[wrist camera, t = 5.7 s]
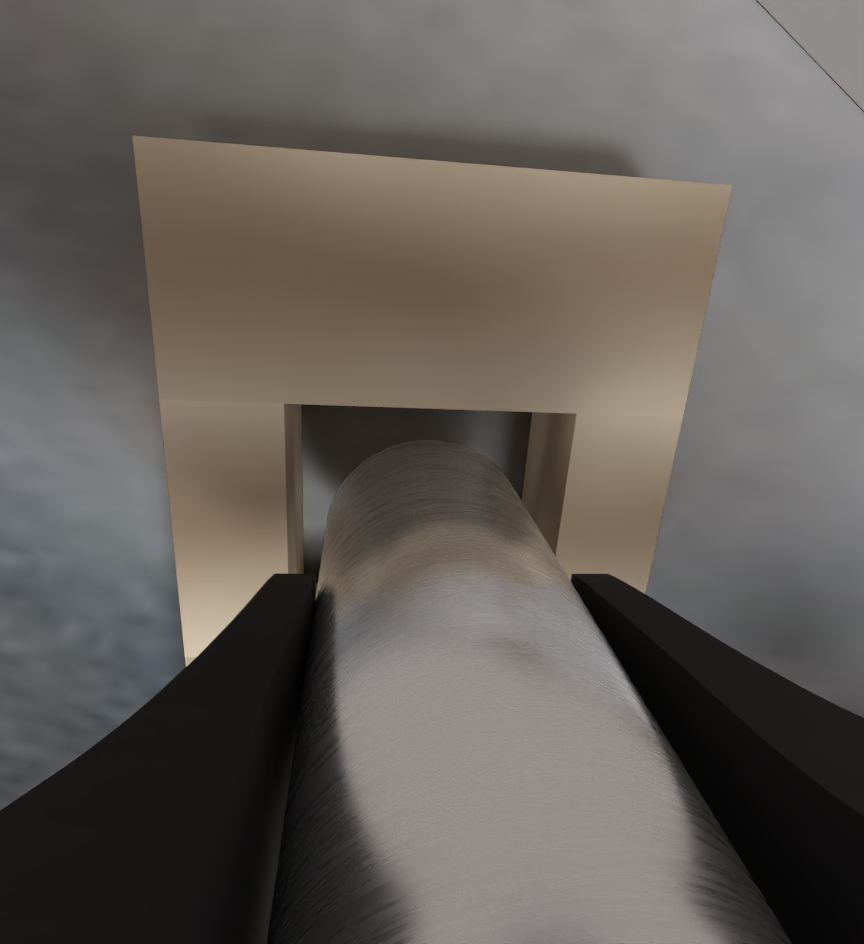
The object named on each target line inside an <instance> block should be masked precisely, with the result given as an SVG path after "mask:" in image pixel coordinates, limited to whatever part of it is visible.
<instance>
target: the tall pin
mask: <svg viewBox="0 0 864 944" xmlns="http://www.w3.org/2000/svg"><path fill="white" fill-rule="evenodd" d="M266 944H792V943H791V941H790V939H789V938H788V936H787V934H786V933H785V931H784V929H783V928H782V926H781V925H780V923H779V921H778V920H777V918H776V916H775V915H774V913H773V911H772V910H771V908H770V907H769V905H768V903H767V902H766V900H765V898H764V897H763V895H762V893H761V892H760V890H759V889H758V887H757V885H756V884H755V882H754V880H753V879H752V877H751V875H750V874H749V872H748V871H747V869H746V867H745V866H744V864H743V862H742V861H741V859H740V857H739V856H738V854H737V853H736V851H735V849H734V848H733V846H732V844H731V843H730V841H729V839H728V838H727V836H726V835H725V833H724V831H723V830H722V828H721V826H720V825H719V823H718V821H717V820H716V818H715V817H714V815H713V813H712V812H711V810H710V808H709V807H708V805H707V803H706V802H705V800H704V799H703V797H702V795H701V794H700V792H699V790H698V789H697V787H696V785H695V784H694V782H693V781H692V779H691V777H690V776H689V774H688V772H687V771H686V769H685V767H684V766H683V764H682V763H681V761H680V759H679V758H678V756H677V754H676V753H675V751H674V749H673V748H672V746H671V745H670V743H669V741H668V740H667V738H666V736H665V735H664V733H663V731H662V730H661V728H660V727H659V725H658V723H657V722H656V720H655V718H654V717H653V715H652V713H651V712H650V710H649V709H648V707H647V705H646V704H645V702H644V700H643V699H642V697H641V695H640V694H639V692H638V691H637V689H636V687H635V686H634V684H633V682H632V681H631V679H630V677H629V676H628V674H627V673H626V671H625V669H624V668H623V666H622V664H621V663H620V661H619V659H618V658H617V656H616V655H615V653H614V651H613V650H612V648H611V646H610V645H609V643H608V641H607V640H606V638H605V637H604V635H603V633H602V632H601V630H600V628H599V627H598V625H597V623H596V622H595V620H594V619H593V617H592V615H591V614H590V612H589V610H588V609H587V607H586V605H585V604H584V602H583V601H582V599H581V597H580V596H579V594H578V592H577V591H576V589H575V588H574V586H573V584H572V583H571V581H570V579H569V578H568V576H567V574H566V573H565V571H564V570H563V568H562V566H561V565H560V563H559V561H558V560H557V558H556V556H555V555H554V553H553V552H552V550H551V548H550V547H549V545H548V543H547V542H546V540H545V538H544V537H543V535H542V534H541V532H540V530H539V529H538V527H537V525H536V524H535V522H534V520H533V519H532V517H531V516H530V514H529V512H528V511H527V509H526V507H525V506H524V504H523V502H522V501H521V499H520V498H519V496H518V494H517V493H516V491H515V489H514V488H513V486H512V484H511V483H510V481H509V480H508V478H507V477H506V476H505V474H504V473H503V472H502V471H501V470H500V469H499V468H498V467H497V466H496V465H495V464H494V463H493V462H492V461H491V460H489V459H488V458H486V457H485V456H484V455H482V454H480V453H479V452H477V451H475V450H473V449H471V448H468V447H466V446H463V445H461V444H457V443H453V442H448V441H441V440H416V441H409V442H404V443H400V444H397V445H393V446H391V447H388V448H386V449H383V450H381V451H379V452H377V453H376V454H374V455H372V456H370V457H369V458H367V459H366V460H365V461H363V462H362V463H361V464H359V465H358V466H357V467H356V468H355V469H354V470H353V471H352V472H351V473H350V474H349V475H348V476H347V478H346V479H345V480H344V482H343V483H342V484H341V486H340V487H339V489H338V491H337V492H336V494H335V496H334V499H333V501H332V503H331V506H330V509H329V513H328V517H327V523H326V530H325V537H324V544H323V551H322V558H321V565H320V572H319V579H318V586H317V593H316V602H315V609H314V616H313V623H312V630H311V637H310V643H309V649H308V656H307V663H306V670H305V677H304V684H303V691H302V698H301V705H300V712H299V719H298V726H297V733H296V740H295V747H294V754H293V761H292V768H291V775H290V782H289V789H288V796H287V803H286V810H285V817H284V824H283V830H282V837H281V844H280V851H279V858H278V865H277V872H276V879H275V886H274V893H273V900H272V907H271V914H270V921H269V928H268V935H267V942H266Z"/></svg>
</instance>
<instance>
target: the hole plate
mask: <svg viewBox="0 0 864 944" xmlns="http://www.w3.org/2000/svg"><path fill="white" fill-rule="evenodd" d="M132 137H133V147H134V157H135V167H136V177H137V187H138V197H139V206H140V216H141V226H142V236H143V246H144V256H145V266H146V276H147V286H148V296H149V306H150V316H151V325H152V335H153V345H154V355H155V365H156V375H157V385H158V395H159V405H160V415H161V425H162V435H163V444H164V454H165V464H166V474H167V484H168V494H169V504H170V514H171V524H172V534H173V544H174V554H175V563H176V573H177V583H178V593H179V603H180V613H181V623H182V633H183V643H184V653H185V663H186V667H187V666H188V665H189V664H190V663H191V662H192V661H193V660H194V659H195V658H196V657H197V656H198V655H199V654H200V653H201V652H202V651H203V650H204V649H205V648H206V647H207V646H208V645H209V644H210V643H211V642H212V641H213V640H214V639H215V638H216V637H217V636H218V635H219V634H220V633H221V631H222V630H223V629H224V628H225V627H226V626H227V625H228V624H229V623H230V622H231V621H232V620H233V619H234V618H235V617H236V615H237V614H238V613H239V612H240V611H241V610H242V609H243V608H244V607H245V605H246V604H247V603H248V602H249V601H250V600H251V599H252V597H253V596H254V595H255V594H256V593H257V592H258V591H259V589H260V588H261V587H262V586H263V585H264V584H265V582H266V581H267V580H268V579H269V578H270V577H272V576H273V575H274V574H304V545H303V483H302V420H301V404H306V405H336V406H366V407H395V408H425V409H455V410H484V411H514V412H532V419H531V427H530V435H529V444H528V452H527V460H526V468H525V476H524V484H523V493H522V502H523V504H524V506H525V507H526V509H527V511H528V512H529V514H530V516H531V517H532V519H533V520H534V522H535V524H536V525H537V527H538V529H539V530H540V532H541V534H542V535H543V537H544V538H545V540H546V542H547V543H548V545H549V547H550V548H551V550H552V552H553V553H554V555H555V556H556V558H557V560H558V561H559V563H560V565H561V566H562V568H563V570H564V571H565V573H566V574H567V576H568V578H569V579H570V581H571V575H572V574H610V575H612V576H614V577H616V578H618V579H620V580H622V581H624V582H625V583H627V584H629V585H631V586H632V587H634V588H636V589H637V590H639V591H641V592H642V593H644V594H645V593H646V588H647V584H648V579H649V574H650V569H651V565H652V560H653V555H654V551H655V546H656V541H657V537H658V532H659V527H660V523H661V518H662V513H663V509H664V504H665V499H666V495H667V490H668V485H669V481H670V476H671V471H672V467H673V462H674V457H675V453H676V448H677V443H678V439H679V434H680V429H681V424H682V420H683V415H684V410H685V406H686V401H687V396H688V392H689V387H690V382H691V378H692V373H693V368H694V364H695V359H696V354H697V350H698V345H699V340H700V336H701V331H702V326H703V322H704V317H705V312H706V308H707V303H708V298H709V294H710V289H711V284H712V279H713V275H714V270H715V265H716V261H717V256H718V251H719V247H720V242H721V237H722V233H723V228H724V223H725V219H726V214H727V209H728V205H729V200H730V195H731V191H732V186H733V185H725V184H713V183H701V182H689V181H677V180H665V179H653V178H640V177H628V176H616V175H604V174H592V173H580V172H568V171H556V170H544V169H532V168H520V167H508V166H496V165H483V164H471V163H459V162H447V161H435V160H423V159H411V158H399V157H387V156H375V155H363V154H351V153H338V152H326V151H314V150H302V149H290V148H278V147H266V146H254V145H242V144H230V143H218V142H206V141H194V140H181V139H169V138H157V137H145V136H133V135H132ZM317 586H318V583H316V593H317Z"/></svg>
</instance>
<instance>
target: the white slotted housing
mask: <svg viewBox="0 0 864 944" xmlns="http://www.w3.org/2000/svg"><path fill="white" fill-rule="evenodd" d="M757 1H758V2H759V3H760V4H761V5H762V6H763V7H764V8H765V9H766V10H767V11H768V12H769V13H770V14H771V15H772V16H773V17H774V18H775V19H776V20H777V21H778V22H779V23H780V24H781V26H782V27H783V28H784V29H785V30H786V31H787V32H788V33H789V34H790V35H791V36H792V37H793V38H794V39H795V40H796V41H797V42H798V43H799V44H800V45H801V46H802V47H803V48H804V49H805V50H806V51H807V53H808V54H809V55H810V56H811V57H812V58H813V59H814V60H815V61H816V62H817V63H818V64H819V65H820V66H821V67H822V68H823V69H824V70H825V71H826V72H827V73H828V74H829V75H830V76H831V77H832V78H833V80H834V81H835V82H836V83H837V84H838V85H839V86H840V87H841V88H842V89H843V90H844V91H845V92H846V93H847V94H848V95H849V96H850V97H851V98H852V99H853V100H854V101H855V102H856V103H857V104H858V105H859V107H860V108H861V109H862V110H863V111H864V0H757Z"/></svg>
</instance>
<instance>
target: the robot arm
mask: <svg viewBox="0 0 864 944" xmlns="http://www.w3.org/2000/svg"><path fill="white" fill-rule="evenodd" d="M571 583H572V584H573V586H574V588H575V589H576V591H577V592H578V594H579V596H580V597H581V599H582V601H583V602H584V604H585V605H586V607H587V609H588V610H589V612H590V614H591V615H592V617H593V619H594V620H595V622H596V623H597V625H598V627H599V628H600V630H601V632H602V633H603V635H604V637H605V638H606V640H607V641H608V643H609V645H610V646H611V648H612V650H613V651H614V653H615V655H616V656H617V658H618V659H619V661H620V663H621V664H622V666H623V668H624V669H625V671H626V673H627V674H628V676H629V677H630V679H631V681H632V682H633V684H634V686H635V687H636V689H637V691H638V692H639V694H640V695H641V697H642V699H643V700H644V702H645V704H646V705H647V707H648V709H649V710H650V712H651V713H652V715H653V717H654V718H655V720H656V722H657V723H658V725H659V727H660V728H661V730H662V731H663V733H664V735H665V736H666V738H667V740H668V741H669V743H670V745H671V746H672V748H673V749H674V751H675V753H676V754H677V756H678V758H679V759H680V761H681V763H682V764H683V766H684V767H685V769H686V771H687V772H688V774H689V776H690V777H691V779H692V781H693V782H694V784H695V785H696V787H697V789H698V790H699V792H700V794H701V795H702V797H703V799H704V800H705V802H706V803H707V805H708V807H709V808H710V810H711V812H712V813H713V815H714V817H715V818H716V820H717V821H718V823H719V825H720V826H721V828H722V830H723V831H724V833H725V835H726V836H727V838H728V839H729V841H730V843H731V844H732V846H733V848H734V849H735V851H736V853H737V854H738V856H739V857H740V859H741V861H742V862H743V864H744V866H745V867H746V869H747V871H748V872H749V874H750V875H751V877H752V879H753V880H754V882H755V884H756V885H757V887H758V889H759V890H760V892H761V893H762V895H763V897H764V898H765V900H766V902H767V903H768V905H769V907H770V908H771V910H772V911H773V913H774V915H775V916H776V918H777V920H778V921H779V923H780V925H781V926H782V928H783V929H784V931H785V933H786V934H787V936H788V938H789V939H790V941H791V943H792V944H864V718H862V717H860V716H858V715H856V714H854V713H852V712H849V711H847V710H845V709H843V708H841V707H839V706H837V705H835V704H833V703H831V702H829V701H827V700H825V699H823V698H821V697H819V696H817V695H815V694H813V693H811V692H809V691H808V690H806V689H804V688H802V687H800V686H798V685H796V684H794V683H793V682H791V681H789V680H787V679H786V678H784V677H782V676H780V675H778V674H777V673H775V672H773V671H771V670H769V669H768V668H766V667H764V666H762V665H760V664H759V663H757V662H755V661H753V660H752V659H750V658H748V657H746V656H745V655H743V654H741V653H740V652H738V651H736V650H735V649H733V648H731V647H729V646H728V645H726V644H725V643H723V642H721V641H720V640H718V639H716V638H715V637H713V636H711V635H710V634H708V633H706V632H705V631H703V630H702V629H700V628H698V627H697V626H695V625H694V624H692V623H690V622H689V621H687V620H686V619H684V618H682V617H681V616H679V615H678V614H676V613H674V612H673V611H671V610H670V609H668V608H666V607H665V606H663V605H662V604H660V603H658V602H657V601H655V600H654V599H652V598H650V597H649V596H647V595H646V594H644V593H642V592H641V591H639V590H637V589H636V588H634V587H632V586H631V585H629V584H627V583H625V582H624V581H622V580H620V579H618V578H616V577H614V576H612V575H610V574H572V575H571ZM315 602H316V577H315V574H274V575H273V576H272V577H270V578H269V579H268V580H267V581H266V582H265V584H264V585H263V586H262V587H261V588H260V589H259V591H258V592H257V593H256V594H255V595H254V596H253V597H252V599H251V600H250V601H249V602H248V603H247V604H246V605H245V607H244V608H243V609H242V610H241V611H240V612H239V613H238V614H237V615H236V617H235V618H234V619H233V620H232V621H231V622H230V623H229V624H228V625H227V626H226V627H225V628H224V629H223V630H222V631H221V633H220V634H219V635H218V636H217V637H216V638H215V639H214V640H213V641H212V642H211V643H210V644H209V645H208V646H207V647H206V648H205V649H204V650H203V651H202V652H201V653H200V654H199V655H198V656H197V657H196V658H195V659H194V660H193V661H192V662H191V663H190V664H189V665H188V666H187V667H186V668H184V669H183V670H182V671H181V672H180V673H179V674H178V675H177V676H176V677H175V678H174V679H173V680H172V681H170V682H169V683H168V684H167V685H166V686H165V687H164V688H163V689H162V690H161V691H160V692H159V693H157V694H156V695H155V696H154V697H153V698H152V699H151V700H150V701H149V702H147V703H146V704H145V705H144V706H143V707H142V708H140V709H139V710H138V711H137V712H136V713H134V714H133V715H132V716H131V717H130V718H129V719H127V720H126V721H125V722H124V723H122V724H121V725H120V726H119V727H117V728H116V729H115V730H114V731H112V732H111V733H110V734H108V735H107V736H106V737H104V738H103V739H102V740H101V741H99V742H98V743H97V744H95V745H94V746H93V747H92V748H90V749H89V750H88V751H86V752H85V753H83V754H82V755H81V756H79V757H78V758H77V759H75V760H74V761H73V762H71V763H70V764H68V765H67V766H65V767H64V768H62V769H61V770H59V771H58V772H57V773H55V774H54V775H52V776H51V777H49V778H48V779H46V780H45V781H43V782H42V783H40V784H39V785H37V786H36V787H34V788H33V789H31V790H30V791H29V792H27V793H26V794H24V795H23V796H21V797H20V798H18V799H17V800H15V801H14V802H12V803H11V804H9V805H8V806H6V807H5V808H3V809H2V810H1V811H0V944H266V942H267V935H268V928H269V921H270V914H271V907H272V900H273V893H274V886H275V879H276V872H277V865H278V858H279V851H280V844H281V837H282V830H283V824H284V817H285V810H286V803H287V796H288V789H289V782H290V775H291V768H292V761H293V754H294V747H295V740H296V733H297V726H298V719H299V712H300V705H301V698H302V691H303V684H304V677H305V670H306V663H307V656H308V649H309V643H310V637H311V630H312V623H313V616H314V609H315Z"/></svg>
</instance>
